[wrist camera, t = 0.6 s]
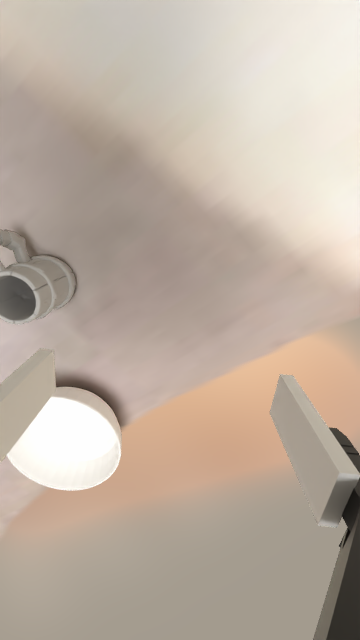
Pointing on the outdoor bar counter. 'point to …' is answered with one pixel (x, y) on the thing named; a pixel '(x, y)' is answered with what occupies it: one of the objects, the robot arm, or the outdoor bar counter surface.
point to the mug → (32, 283)
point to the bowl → (70, 442)
